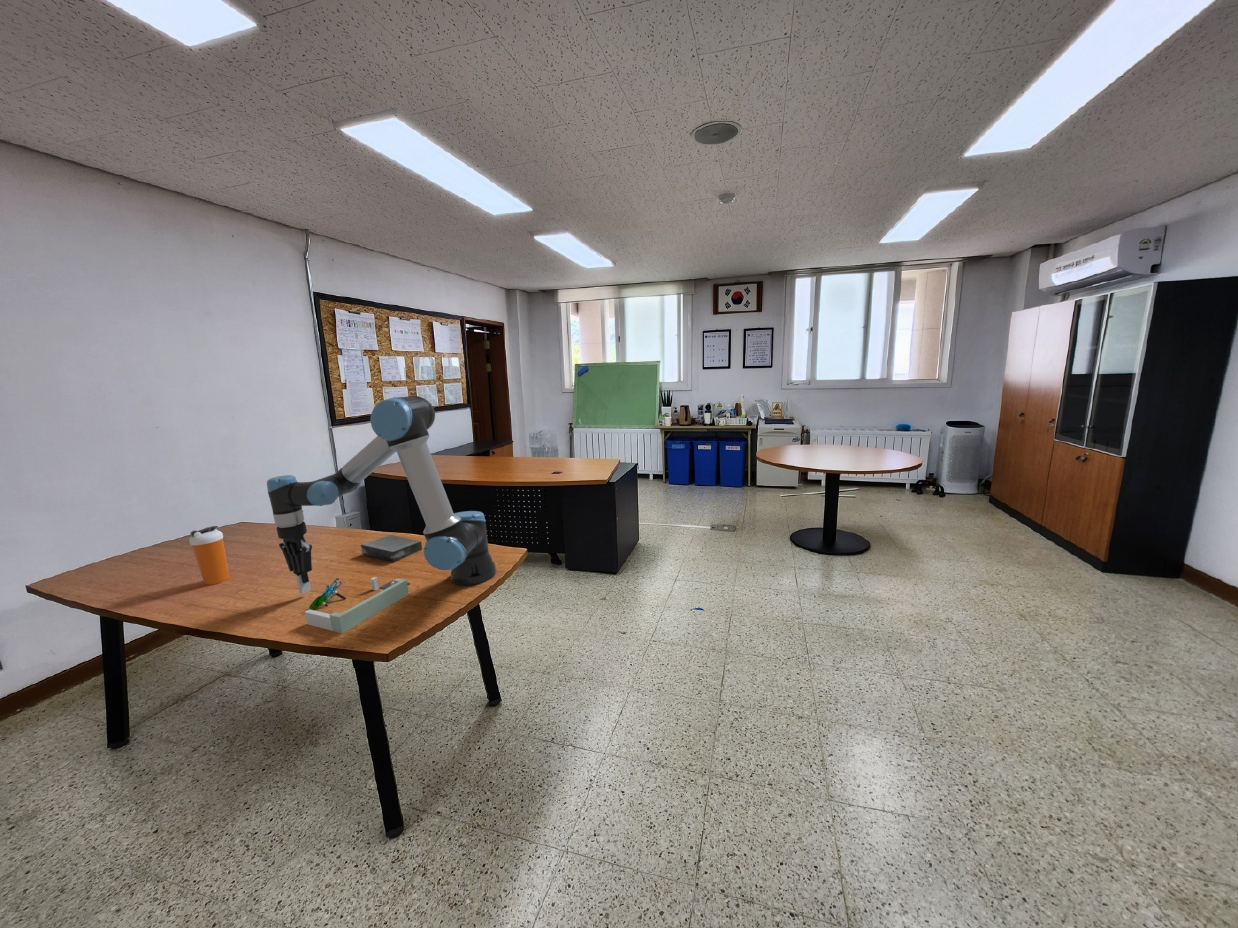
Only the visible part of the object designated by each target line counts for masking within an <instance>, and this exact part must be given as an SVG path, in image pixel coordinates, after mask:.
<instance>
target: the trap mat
mask: <svg viewBox="0 0 1238 928" xmlns="http://www.w3.org/2000/svg"><path fill="white" fill-rule="evenodd" d="M394 580H395V579H393V580H390V581H389V582H387V583H385V584H384V585H381V586H379V589H383V590H385V589H387V588H388V587H390V586H391V582H393V581H394ZM410 585H411V583H410V582H407V586H410Z"/></svg>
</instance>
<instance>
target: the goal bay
mask: <svg viewBox="0 0 1238 928" xmlns="http://www.w3.org/2000/svg"><path fill="white" fill-rule="evenodd" d="M393 580H394V585H392V586H390V587H388V588H387V589H383V590H381V591H379V592H378V593H375V594H374V595H372V596H370V597H368V598H367V599H365V600H363V601H361V602H359V603H357V604H356V605H353V606H352V607H350V608H348V609H346V610H345V611H343V612H341V613H340V612H336V611H334V612H332V613H329V614H330V620H331V625H332V630H333V631H332V632H335V633H339V634H344V633H346V632H347V631H349V630H350V629H353V628H354V627H355V626H356V627H357V626H358V625H359V624H361V623H363V622H364V621H367V620H368V619H369V618H371V617H373V616H374V615H376V614H378V613H380V612H381V611H383V610H384V609H386V608H388V607H390V606H391V605H393V604H394V603H397V602H398V601H399V600H401V599H403V598H405V597H407V596H408V595H410V594H409V587H408V586H409V585H408V586H407V583H408V582H407V581H408V580H407V579H403V578H396V579H393Z"/></svg>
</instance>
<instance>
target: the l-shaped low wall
mask: <svg viewBox="0 0 1238 928" xmlns="http://www.w3.org/2000/svg"><path fill="white" fill-rule="evenodd" d="M369 582H370V586H371V590H372V591H377V590H379V589H380V585H379V579H378V577H376V576H373V577H371V578H370V581H369ZM390 582H391V581H390ZM392 585H394V581H393V582H391V586H392ZM330 614H331V613H326V612H323V611H318V610H314V609H312V610H311V609H307V610H306V611H304V615H305V620H306V621H305V622H306V625H309V626H312V627H315V628H316V627H317V628H320V629H323V630H324V629H325V630H327V631H328V630H329V631H331V632H334V631H333V630H332V625H331V620H330Z"/></svg>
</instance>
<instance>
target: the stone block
mask: <svg viewBox="0 0 1238 928" xmlns="http://www.w3.org/2000/svg"><path fill="white" fill-rule="evenodd" d="M422 544H423V543H422V541H420V540H416V539H413V538H412V539H410V538H407V537H401V536H396V535H391V534H390V535H386V536H383V537H380V538H377V539H374V540H371V541H368V542H365V543H361V544H360V548H361V554H362V556H363V557H366V558H372V559H377V560H382V561H384V562H390V563H395V562H398V561H400V560H402V559H405V558H407V557H409V556H412V555H413V554H415V553H417V552H419V551H423V546H422Z"/></svg>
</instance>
